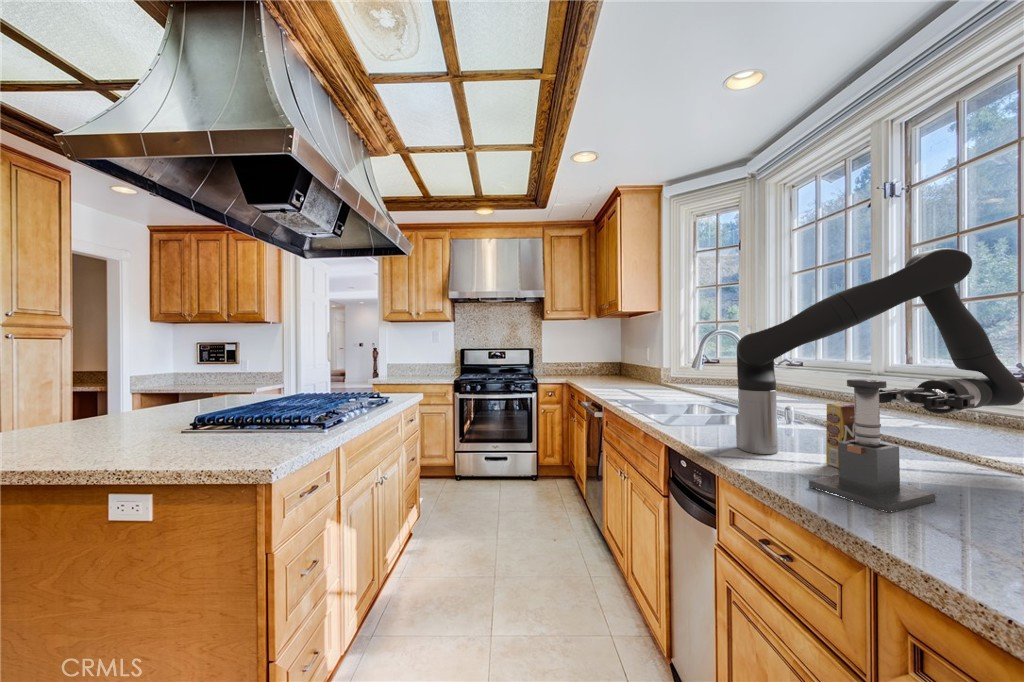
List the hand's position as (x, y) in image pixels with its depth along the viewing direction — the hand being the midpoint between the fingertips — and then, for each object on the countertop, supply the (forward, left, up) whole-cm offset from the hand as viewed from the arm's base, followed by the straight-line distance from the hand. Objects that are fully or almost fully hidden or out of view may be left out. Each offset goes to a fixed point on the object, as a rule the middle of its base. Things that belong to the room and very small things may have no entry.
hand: (902, 400), depth 86 cm
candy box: (-13, +4, -18) cm, 23 cm away
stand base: (0, -12, -18) cm, 21 cm away
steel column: (0, -12, -16) cm, 20 cm away
